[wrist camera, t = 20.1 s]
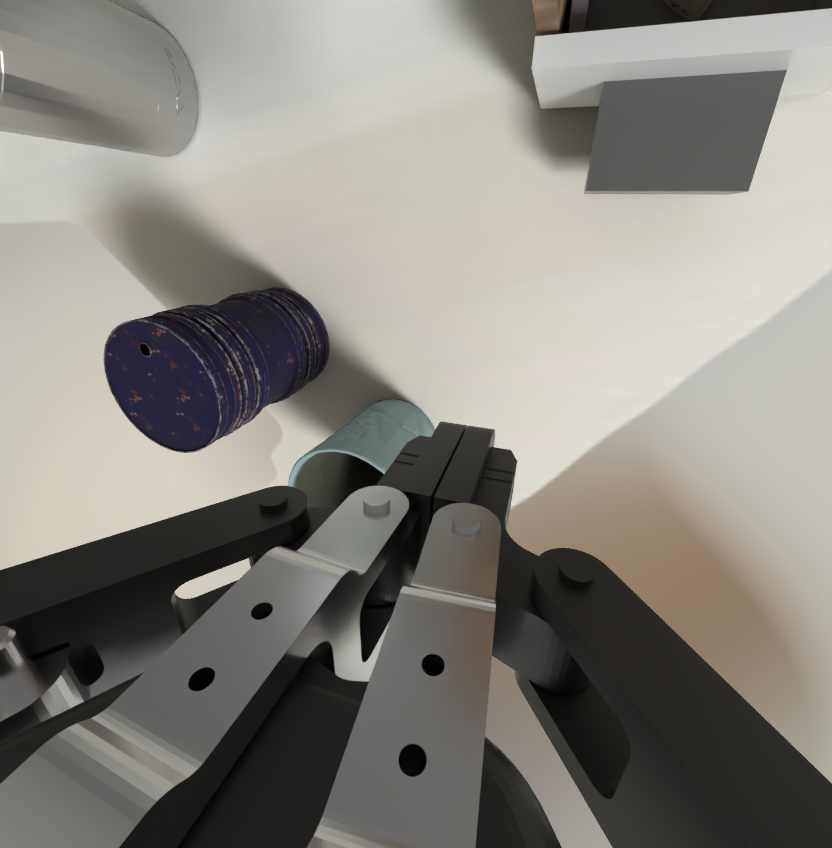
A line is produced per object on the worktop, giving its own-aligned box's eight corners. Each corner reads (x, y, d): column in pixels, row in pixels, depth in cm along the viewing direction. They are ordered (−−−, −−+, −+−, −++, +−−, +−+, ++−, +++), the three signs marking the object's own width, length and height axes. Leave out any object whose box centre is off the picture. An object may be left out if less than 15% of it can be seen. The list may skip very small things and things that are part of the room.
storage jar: (339, 384, 42) (239, 457, 29) (258, 386, 45) (137, 452, 32) (317, 280, 38) (190, 311, 25) (230, 291, 41) (79, 322, 28)
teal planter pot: (340, 400, 43) (268, 457, 32) (431, 381, 39) (382, 439, 28) (373, 485, 46) (317, 561, 36) (460, 475, 42) (425, 558, 32)
